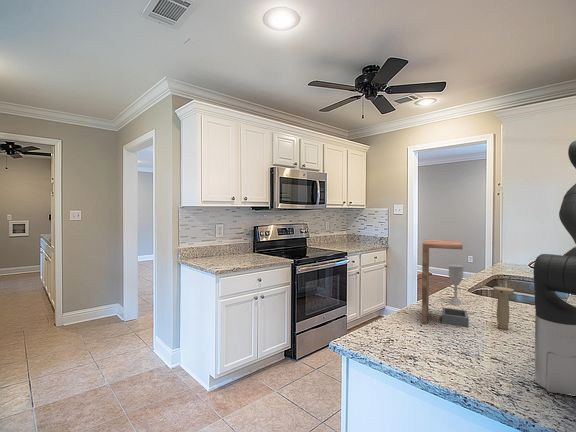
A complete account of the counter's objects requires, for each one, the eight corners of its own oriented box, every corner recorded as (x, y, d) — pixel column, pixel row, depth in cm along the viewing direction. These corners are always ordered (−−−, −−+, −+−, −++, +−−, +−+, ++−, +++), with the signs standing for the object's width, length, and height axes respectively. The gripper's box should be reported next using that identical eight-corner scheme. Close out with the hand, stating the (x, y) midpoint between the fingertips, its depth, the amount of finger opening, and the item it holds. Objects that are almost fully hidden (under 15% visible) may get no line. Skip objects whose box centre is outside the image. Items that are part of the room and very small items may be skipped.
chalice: (443, 302, 150) (444, 265, 149) (453, 300, 153) (453, 264, 152) (457, 306, 143) (458, 267, 143) (467, 304, 146) (467, 266, 146)
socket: (468, 327, 118) (468, 318, 118) (442, 323, 122) (442, 314, 122) (466, 319, 127) (467, 310, 127) (442, 315, 131) (442, 307, 131)
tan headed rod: (511, 332, 113) (511, 291, 113) (490, 327, 118) (491, 288, 118) (514, 329, 116) (515, 289, 116) (495, 324, 121) (495, 286, 121)
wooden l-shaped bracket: (461, 329, 115) (462, 245, 115) (421, 323, 121) (422, 243, 121) (459, 315, 131) (460, 240, 131) (424, 310, 137) (425, 239, 137)
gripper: (568, 244, 113) (528, 272, 119) (583, 249, 101) (538, 280, 106) (587, 259, 111) (546, 288, 117) (605, 266, 98) (558, 297, 104)
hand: (542, 284), depth 111 cm, fingers open, 8 cm apart
